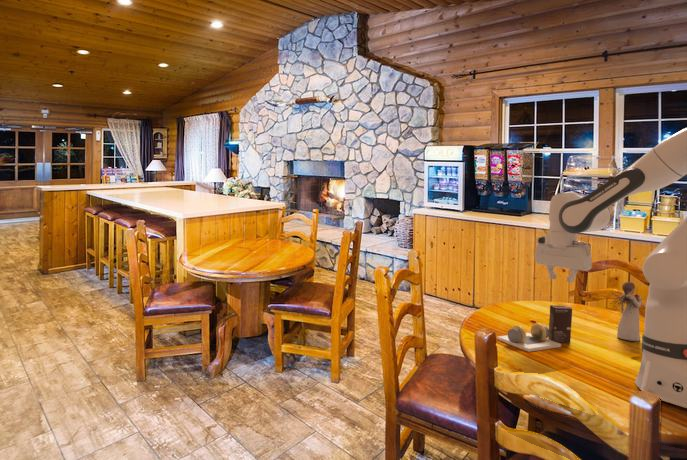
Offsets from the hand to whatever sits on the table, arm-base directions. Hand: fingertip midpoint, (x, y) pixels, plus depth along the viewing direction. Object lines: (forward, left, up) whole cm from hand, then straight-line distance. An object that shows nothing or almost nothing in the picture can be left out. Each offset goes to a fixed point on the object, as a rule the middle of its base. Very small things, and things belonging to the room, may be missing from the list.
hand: (561, 280), depth 148 cm
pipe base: (+2, +12, -21) cm, 24 cm away
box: (0, 0, -21) cm, 21 cm away
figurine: (-6, -23, -21) cm, 32 cm away
